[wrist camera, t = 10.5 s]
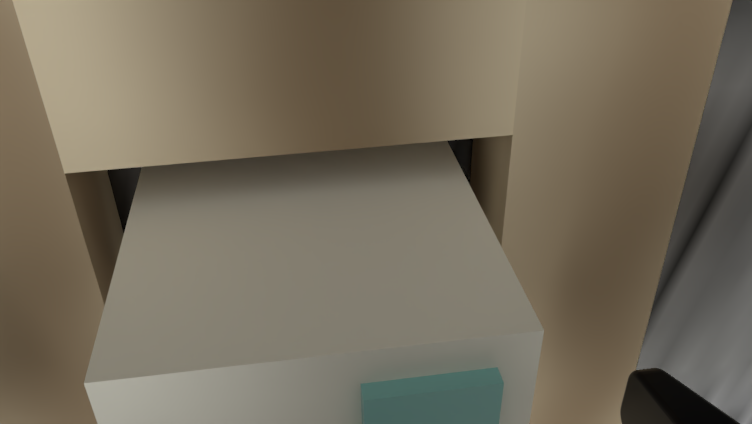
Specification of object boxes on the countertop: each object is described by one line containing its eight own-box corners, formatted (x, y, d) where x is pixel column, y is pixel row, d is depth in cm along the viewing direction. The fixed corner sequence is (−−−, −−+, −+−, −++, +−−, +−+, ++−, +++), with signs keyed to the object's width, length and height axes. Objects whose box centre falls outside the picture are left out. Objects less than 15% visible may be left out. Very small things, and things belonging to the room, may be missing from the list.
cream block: (193, 356, 15) (166, 646, 10) (148, 143, 12) (78, 402, 7) (428, 329, 15) (509, 591, 10) (436, 120, 12) (551, 346, 8)
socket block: (54, 495, 16) (32, 580, 14) (-196, -77, 9) (-292, -40, 8) (569, 425, 18) (603, 494, 16) (678, -115, 11) (756, -92, 9)
